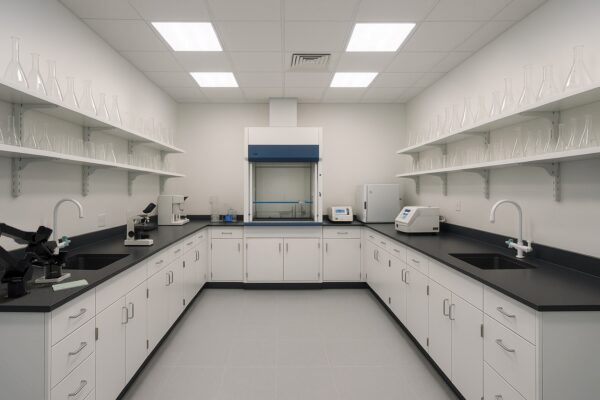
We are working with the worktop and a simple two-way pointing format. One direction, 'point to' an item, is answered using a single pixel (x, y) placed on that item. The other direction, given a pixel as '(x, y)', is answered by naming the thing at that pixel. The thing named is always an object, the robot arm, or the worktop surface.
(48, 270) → the supplement bottle
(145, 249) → the worktop surface
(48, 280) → the white square frame
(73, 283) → the mat
